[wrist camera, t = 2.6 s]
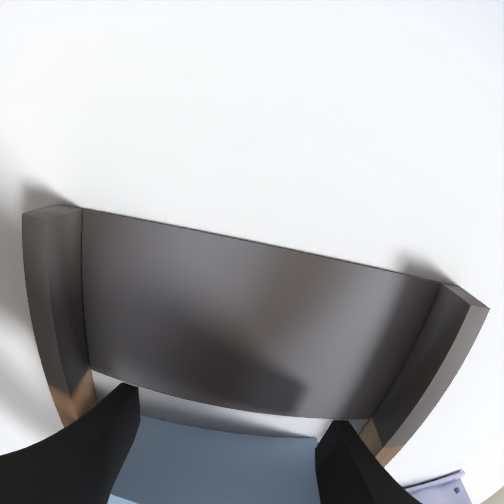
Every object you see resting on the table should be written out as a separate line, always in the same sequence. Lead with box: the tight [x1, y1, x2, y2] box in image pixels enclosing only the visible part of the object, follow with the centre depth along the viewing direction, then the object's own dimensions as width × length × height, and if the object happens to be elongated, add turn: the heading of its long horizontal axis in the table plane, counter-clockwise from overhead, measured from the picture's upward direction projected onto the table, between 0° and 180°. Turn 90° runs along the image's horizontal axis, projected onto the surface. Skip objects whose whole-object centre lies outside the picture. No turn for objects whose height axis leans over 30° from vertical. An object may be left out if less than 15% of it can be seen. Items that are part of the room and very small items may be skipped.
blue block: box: [107, 415, 321, 504], centre depth 10 cm, size 9×6×5 cm, turn 82°
